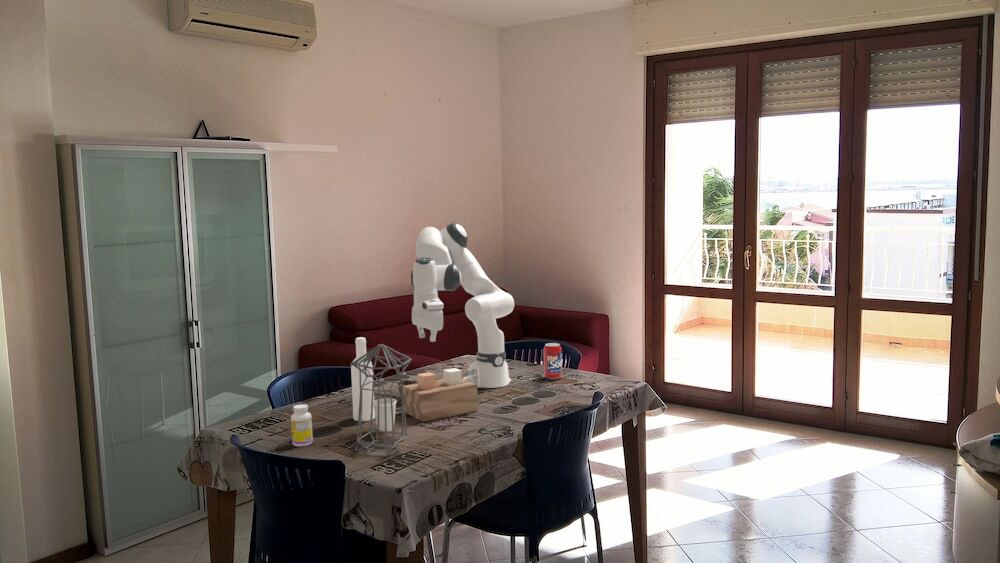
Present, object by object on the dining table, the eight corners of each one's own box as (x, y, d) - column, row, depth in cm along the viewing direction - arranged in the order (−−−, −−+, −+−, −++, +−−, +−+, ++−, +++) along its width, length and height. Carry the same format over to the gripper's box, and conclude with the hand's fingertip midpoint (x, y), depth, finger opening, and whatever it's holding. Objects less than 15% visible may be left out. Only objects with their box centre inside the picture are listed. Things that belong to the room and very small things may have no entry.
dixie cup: (376, 425, 274) (374, 398, 273) (399, 425, 274) (398, 398, 273) (371, 433, 266) (370, 404, 265) (395, 432, 266) (394, 404, 265)
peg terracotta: (418, 397, 288) (417, 374, 287) (430, 395, 290) (429, 372, 289) (424, 400, 284) (423, 376, 283) (436, 398, 286) (435, 374, 285)
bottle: (368, 422, 279) (364, 340, 275) (349, 420, 282) (345, 339, 278) (379, 416, 286) (375, 336, 283) (360, 414, 289) (356, 335, 286)
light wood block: (403, 411, 291) (402, 385, 290) (457, 401, 303) (456, 376, 302) (422, 421, 278) (421, 394, 277) (477, 410, 290) (477, 384, 289)
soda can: (550, 375, 343) (549, 341, 342) (565, 377, 339) (564, 343, 337) (540, 378, 337) (540, 345, 335) (556, 381, 332) (555, 346, 331)
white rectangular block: (444, 393, 294) (443, 369, 293) (455, 391, 296) (454, 368, 295) (450, 395, 289) (449, 372, 288) (462, 393, 292) (461, 370, 291)
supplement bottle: (294, 441, 260) (292, 403, 258) (314, 440, 260) (312, 402, 259) (290, 447, 253) (288, 409, 251) (311, 446, 253) (309, 408, 252)
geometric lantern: (371, 442, 256) (369, 338, 252) (415, 447, 251) (414, 341, 248) (348, 458, 241) (346, 347, 237) (394, 463, 236) (393, 350, 233)
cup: (420, 400, 307) (420, 380, 306) (411, 404, 300) (410, 384, 300) (404, 398, 310) (404, 378, 309) (394, 403, 304) (394, 383, 303)
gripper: (406, 300, 291) (408, 336, 293) (429, 306, 273) (431, 344, 275) (422, 298, 294) (423, 334, 296) (445, 304, 277) (447, 342, 278)
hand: (427, 339), depth 285 cm, fingers open, 8 cm apart
